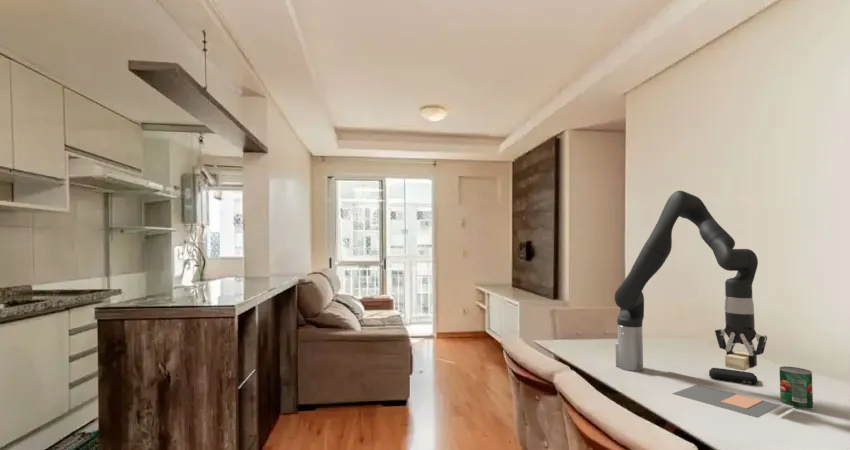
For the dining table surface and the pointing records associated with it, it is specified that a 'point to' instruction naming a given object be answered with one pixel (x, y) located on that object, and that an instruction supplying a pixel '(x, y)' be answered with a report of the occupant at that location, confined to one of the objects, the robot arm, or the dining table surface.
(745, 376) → the carrying case or bag
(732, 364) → the block
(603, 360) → the dining table surface
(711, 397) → the mat
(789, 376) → the canned tomato
